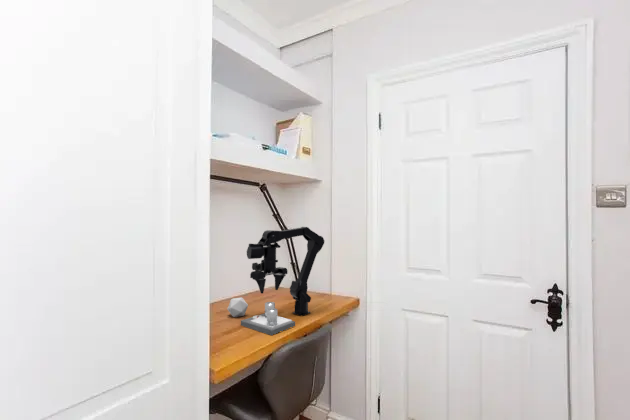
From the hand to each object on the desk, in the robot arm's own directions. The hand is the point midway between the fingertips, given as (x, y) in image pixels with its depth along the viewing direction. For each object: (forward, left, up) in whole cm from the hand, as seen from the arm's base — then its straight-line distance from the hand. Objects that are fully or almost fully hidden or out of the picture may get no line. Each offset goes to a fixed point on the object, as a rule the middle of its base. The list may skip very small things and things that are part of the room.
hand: (269, 291), depth 152 cm
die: (+6, -15, -13) cm, 21 cm away
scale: (+7, +7, -12) cm, 16 cm away
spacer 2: (+10, +13, -10) cm, 19 cm away
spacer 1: (+4, +4, -10) cm, 11 cm away
